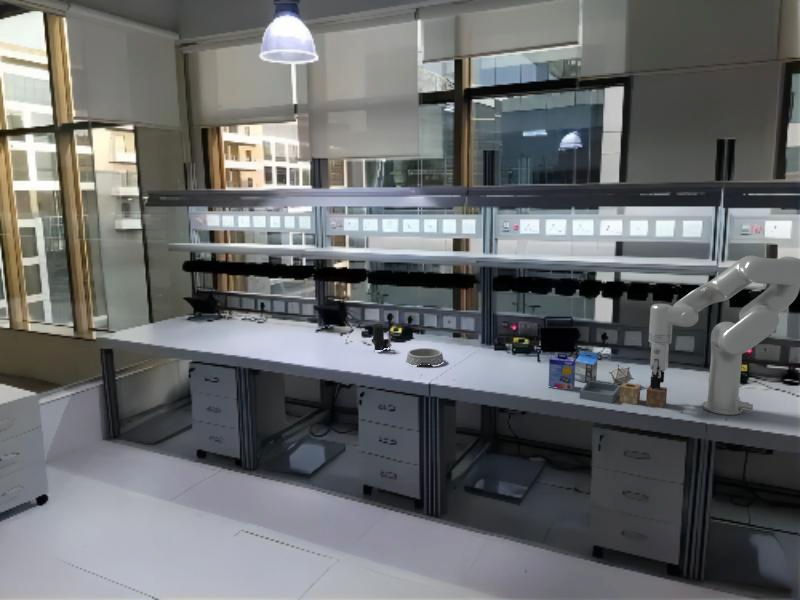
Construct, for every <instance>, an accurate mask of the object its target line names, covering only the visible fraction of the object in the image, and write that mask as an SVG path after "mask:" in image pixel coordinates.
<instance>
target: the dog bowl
mask: <svg viewBox="0 0 800 600" xmlns="http://www.w3.org/2000/svg"><path fill="white" fill-rule="evenodd" d="M444 360H445V359H444V356H443V352H442V351H441V350H440V349H437V348H428V347H427V348H426V347H424V348H415V349H411V350H409V351H408V352H407V356H406V360H405V363H406V362H407V363H409V364H411V365H417V366H418V367H419V366H425V365H426V366H429V365H428V364H431V365H430V366H432V365H438V364H441V363H442V362H443V361H444ZM444 362H445V361H444ZM420 364H421V365H420Z"/></svg>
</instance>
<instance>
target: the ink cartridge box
mask: <svg viewBox="0 0 800 600" xmlns="http://www.w3.org/2000/svg"><path fill="white" fill-rule="evenodd" d="M576 359H577V358H575V357H569V356H568V355H567V353H557V355H551V356H550V357H549V361H548V362H549V363H548V386H550V387H557V388H564V389H563V390H566V389H570V390H569V391H574V390H575V383H576V382H575V381H576V380H575V360H576ZM557 388H556V389H557Z"/></svg>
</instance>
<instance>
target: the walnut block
mask: <svg viewBox="0 0 800 600" xmlns="http://www.w3.org/2000/svg"><path fill="white" fill-rule="evenodd" d="M667 393H668V387H664V386H660V390H654V388H651V387H650V385H648V387H647V389H646V395H645V406H646V407H647V406H648V407H652V408H653V407H655V408H661V409H664V408H665V407H666V404H667Z"/></svg>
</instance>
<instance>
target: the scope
mask: <svg viewBox="0 0 800 600" xmlns="http://www.w3.org/2000/svg"><path fill="white" fill-rule="evenodd" d="M384 327H385V325H384V324H382V323H375V324H374V323H373V325H372V329H373V330H372V339H371V343H372V344H373V345H374V351H375V350H383V349H384V348H388V347H389V348H390V349H391V347H392V343H391V335H388V338H387V339H385V336H384V335H385V334H384Z"/></svg>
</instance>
